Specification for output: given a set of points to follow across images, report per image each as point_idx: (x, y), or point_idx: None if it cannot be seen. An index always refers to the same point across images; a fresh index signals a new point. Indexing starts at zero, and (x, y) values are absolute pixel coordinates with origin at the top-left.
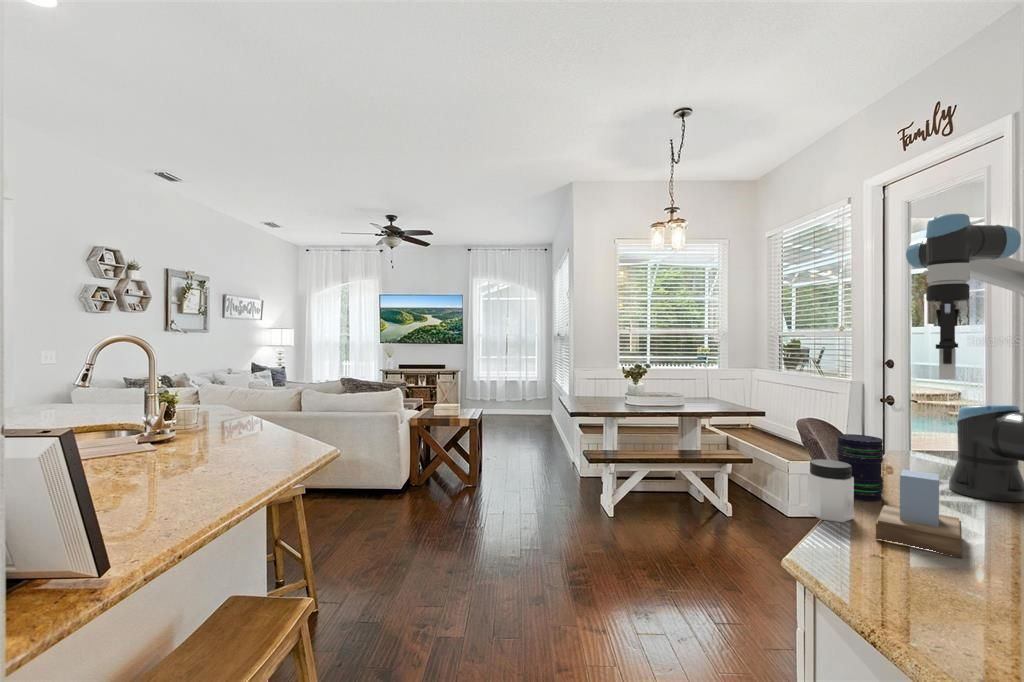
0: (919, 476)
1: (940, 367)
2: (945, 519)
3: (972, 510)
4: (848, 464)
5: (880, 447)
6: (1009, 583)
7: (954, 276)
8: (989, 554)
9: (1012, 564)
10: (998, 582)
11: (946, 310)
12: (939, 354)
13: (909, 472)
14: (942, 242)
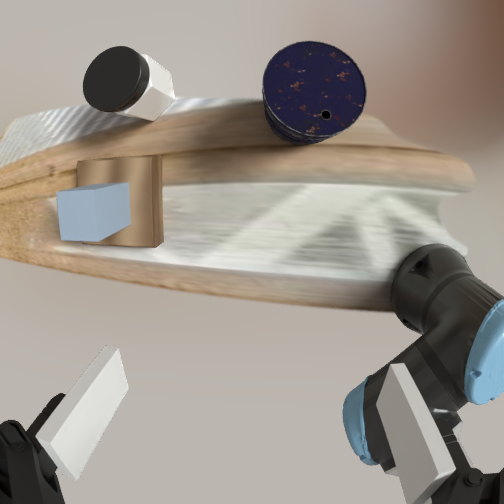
0: (65, 216)
1: (83, 378)
2: (132, 231)
3: (320, 263)
4: (118, 101)
5: (295, 133)
6: (66, 268)
7: None
8: (125, 263)
9: (111, 278)
10: (62, 260)
11: None
12: (51, 417)
13: (80, 201)
14: None
